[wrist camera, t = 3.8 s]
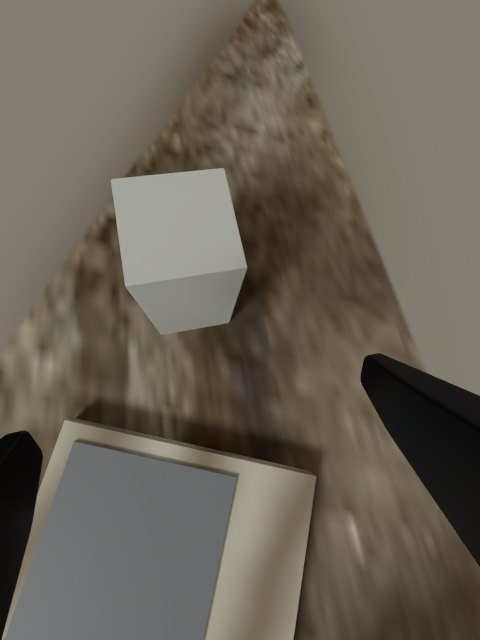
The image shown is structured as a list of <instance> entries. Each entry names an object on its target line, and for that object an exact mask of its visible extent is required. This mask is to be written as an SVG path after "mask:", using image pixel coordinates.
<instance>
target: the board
mask: <svg viewBox="0 0 480 640" xmlns="http://www.w3.org/2000/svg"><path fill="white" fill-rule="evenodd" d="M315 483H316V476H315V475H314V474H313V473H311V472H310V471H309V470H304V469H300V468H296V467H291V466H287V465H282V464H278V463H273V462H269V461H264V460H260V459H255V458H251V457H247V456H242V455H238V454H233V453H229V452H224V451H220V450H215V449H211V448H206V447H202V446H197V445H193V444H189V443H184V442H180V441H175V440H171V439H166V438H162V437H157V436H153V435H148V434H144V433H140V432H135V431H131V430H126V429H122V428H117V427H113V426H108V425H104V424H99V423H95V422H91V421H86V420H82V419H77V418H73V419H68V420H65V421H64V424H63V426H62V429H61V432H60V434H59V437H58V440H57V443H56V445H55V448H54V451H53V454H52V456H51V459H50V462H49V465H48V467H47V470H46V473H45V476H44V478H43V481H42V484H41V486H40V489H39V492H38V495H37V499H36V506H35V512H34V517H33V523H32V527H31V532H30V536H29V540H28V543H27V547H26V551H25V554H24V558H23V562H22V566H21V569H20V573H19V577H18V581H17V584H16V588H15V592H14V595H13V599H12V603H11V607H10V610H9V614H8V618H7V622H6V625H5V629H4V633H3V637H2V640H293V639H294V632H295V625H296V618H297V611H298V604H299V597H300V589H301V582H302V575H303V568H304V561H305V554H306V547H307V540H308V533H309V525H310V518H311V511H312V504H313V497H314V490H315Z"/></svg>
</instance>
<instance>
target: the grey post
mask: <svg viewBox="0 0 480 640" xmlns="http://www.w3.org/2000/svg"><path fill="white" fill-rule="evenodd" d="M111 184H112V192H113V199H114V207H115V214H116V221H117V229H118V236H119V243H120V251H121V258H122V265H123V273H124V280H125V287H126V288H127V289H128V291H129V292H130V293H131V295H132V296H133V297H134V299H135V300H136V301H137V303H138V304H139V305H140V307H141V308H142V309H143V311H144V312H145V313H146V315H147V316H148V317H149V319H150V320H151V321H152V323H153V324H154V326H155V327H156V328H157V330H158V331H159V332H160V334H161V335H165V334H170V333H176V332H181V331H187V330H192V329H197V328H203V327H208V326H214V325H219V324H225V323H229V321H230V318H231V315H232V312H233V309H234V306H235V303H236V300H237V297H238V294H239V291H240V288H241V285H242V282H243V279H244V276H245V273H246V270H247V264H246V260H245V256H244V251H243V247H242V243H241V239H240V234H239V230H238V226H237V222H236V218H235V213H234V209H233V205H232V201H231V196H230V192H229V188H228V184H227V179H226V175H225V171H224V168H220V169H210V170H200V171H190V172H179V173H169V174H159V175H149V176H139V177H129V178H118V179H111Z"/></svg>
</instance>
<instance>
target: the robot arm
mask: <svg viewBox="0 0 480 640" xmlns="http://www.w3.org/2000/svg"><path fill="white" fill-rule="evenodd" d="M361 383H362V385H363V387H364V389H365V391H366V393H367V395H368V397H369V398H370V400H371V402H372V404H373V406H374V408H375V409H376V411H377V413H378V415H379V417H380V419H381V420H382V422H383V424H384V426H385V428H386V429H387V431H388V432H389V434H390V436H391V437H392V439H393V440H394V442H395V443H396V445H397V446H398V447H399V449H400V450H401V452H402V453H403V455H404V456H405V458H406V459H407V461H408V462H409V464H410V465H411V467H412V468H413V469H414V471H415V472H416V474H417V475H418V477H419V478H420V480H421V481H422V483H423V484H424V486H425V487H426V489H427V490H428V492H429V493H430V494H431V496H432V497H433V499H434V500H435V502H436V503H437V505H438V506H439V508H440V509H441V511H442V512H443V514H444V515H445V517H446V518H447V519H448V521H449V522H450V524H451V525H452V527H453V528H454V530H455V531H456V533H457V534H458V536H459V537H460V539H461V540H462V541H463V543H464V544H465V546H466V547H467V549H468V550H469V552H470V553H471V555H472V556H473V558H474V559H475V561H476V562H477V564H478V565H479V566H480V396H479V395H476V394H474V393H471V392H469V391H467V390H464V389H462V388H460V387H458V386H455V385H453V384H450V383H448V382H446V381H444V380H441V379H439V378H436V377H434V376H432V375H430V374H427V373H425V372H423V371H420V370H418V369H416V368H413V367H411V366H409V365H406V364H404V363H402V362H399V361H397V360H395V359H392V358H390V357H388V356H385V355H383V354H380V353H377V354H372V355H368V356H366V357H365V358H364V361H363V366H362V371H361ZM42 461H43V454H42V451H41V449H40V447H39V446H38V445H37V443H36V442H35V440H34V439H33V437H32V436H31V435H30V433H29V432H27V431H18V432H14V433H9V434H7V435H5V436H3V437H2V438H1V439H0V640H2V637H3V633H4V629H5V625H6V622H7V618H8V614H9V610H10V607H11V603H12V599H13V595H14V592H15V588H16V584H17V581H18V577H19V573H20V569H21V566H22V562H23V558H24V554H25V551H26V547H27V543H28V540H29V536H30V532H31V527H32V523H33V517H34V512H35V506H36V499H37V493H38V487H39V480H40V474H41V468H42Z"/></svg>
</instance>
